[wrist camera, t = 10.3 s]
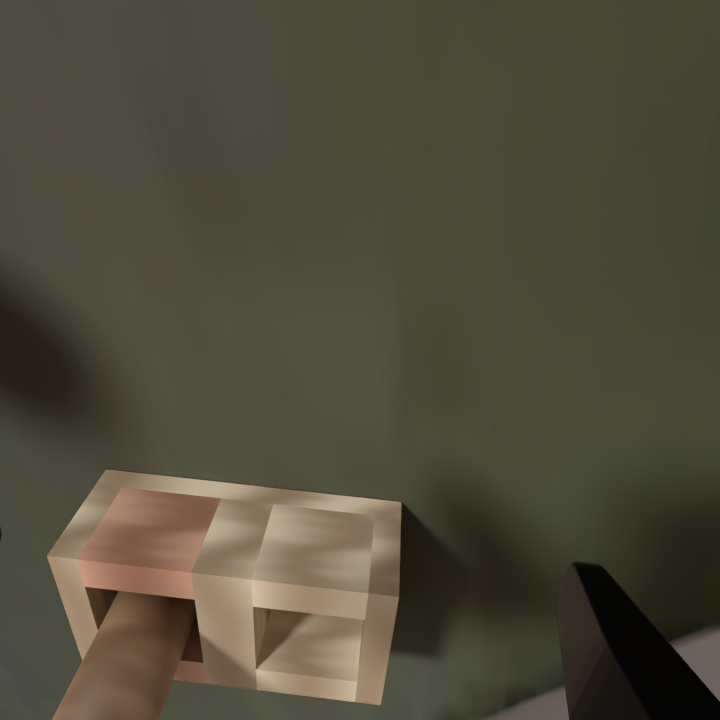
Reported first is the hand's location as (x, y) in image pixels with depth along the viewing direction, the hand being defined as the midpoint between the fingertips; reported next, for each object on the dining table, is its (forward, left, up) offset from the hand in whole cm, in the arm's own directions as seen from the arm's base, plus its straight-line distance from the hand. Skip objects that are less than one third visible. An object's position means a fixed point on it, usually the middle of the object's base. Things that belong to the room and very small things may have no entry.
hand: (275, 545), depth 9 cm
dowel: (+7, +16, -12) cm, 21 cm away
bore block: (+4, +16, -13) cm, 21 cm away
